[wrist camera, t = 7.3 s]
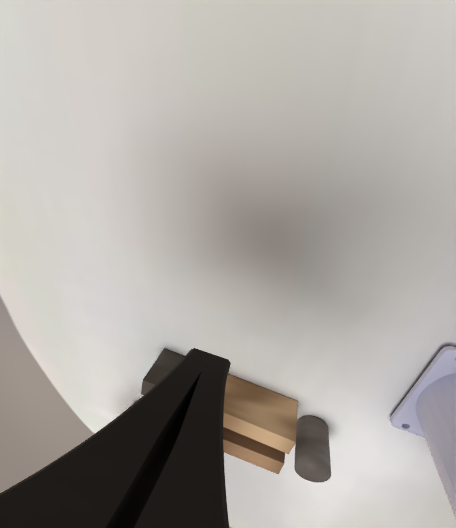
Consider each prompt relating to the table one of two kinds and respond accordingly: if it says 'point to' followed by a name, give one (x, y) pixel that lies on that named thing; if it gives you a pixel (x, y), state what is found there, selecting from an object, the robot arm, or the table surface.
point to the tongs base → (306, 452)
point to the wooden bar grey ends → (243, 406)
